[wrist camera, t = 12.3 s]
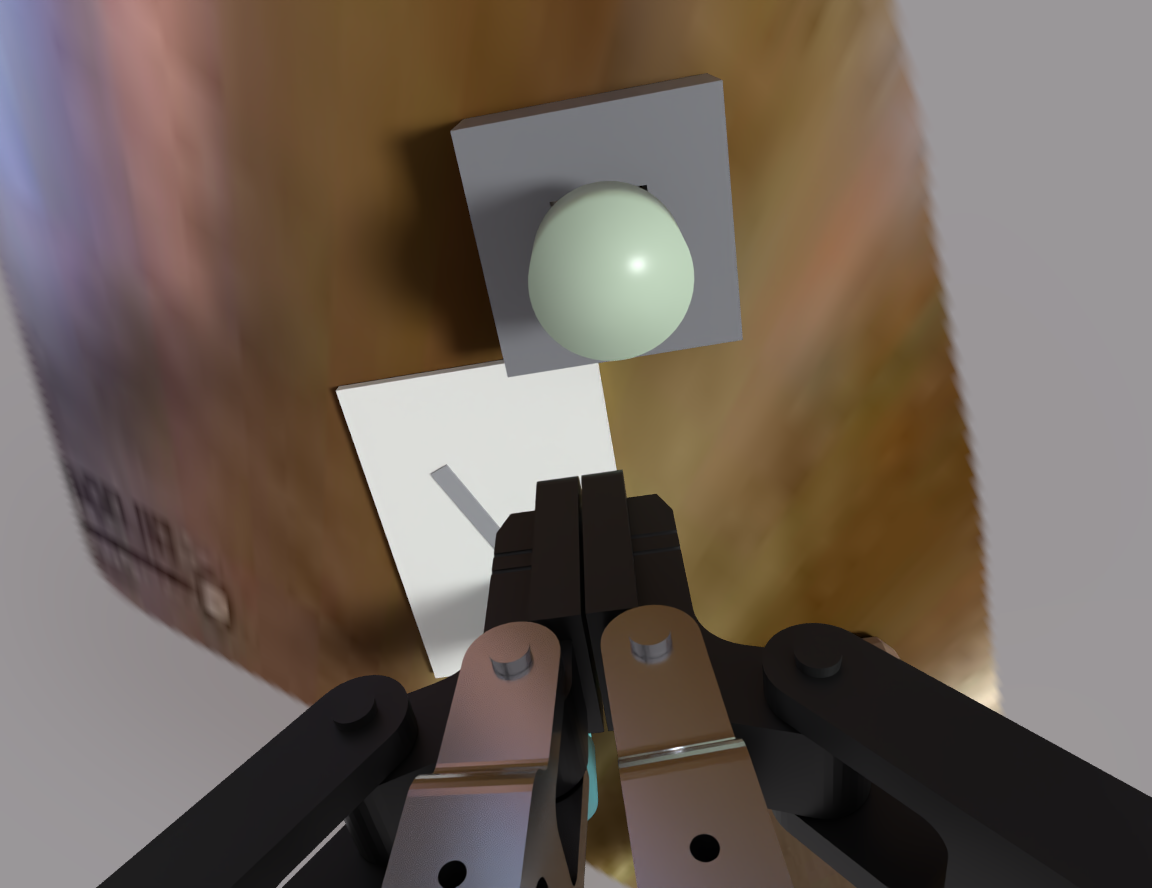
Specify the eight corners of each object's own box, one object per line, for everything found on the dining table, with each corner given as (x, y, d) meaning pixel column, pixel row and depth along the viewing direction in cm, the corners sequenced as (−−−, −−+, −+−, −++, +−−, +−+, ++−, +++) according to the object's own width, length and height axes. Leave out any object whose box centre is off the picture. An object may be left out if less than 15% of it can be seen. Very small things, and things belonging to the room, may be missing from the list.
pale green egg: (524, 175, 25) (512, 215, 20) (662, 150, 25) (684, 184, 20) (550, 307, 27) (545, 372, 22) (679, 286, 27) (701, 347, 22)
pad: (338, 386, 31) (335, 392, 30) (594, 344, 30) (595, 349, 29) (437, 671, 38) (435, 679, 37) (646, 644, 37) (647, 652, 36)
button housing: (463, 119, 26) (450, 130, 23) (707, 73, 25) (722, 79, 23) (513, 345, 30) (507, 377, 27) (727, 310, 29) (742, 339, 26)
